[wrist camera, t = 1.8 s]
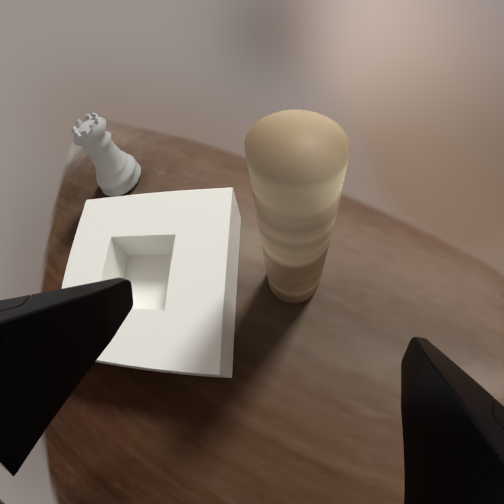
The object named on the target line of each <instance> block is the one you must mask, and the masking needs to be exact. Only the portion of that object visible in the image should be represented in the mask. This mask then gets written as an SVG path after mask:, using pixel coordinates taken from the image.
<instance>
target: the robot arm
mask: <svg viewBox="0 0 504 504" xmlns="http://www.w3.org/2000/svg"><path fill="white" fill-rule="evenodd" d="M132 307H133V294H132V284H131V282H130V280H128V279H124V278H114V279H109V280H104V281H99V282H94V283H89V284H84V285H78V286H73V287H68V288H63V289H58V290H53V291H48V292H43V293H38V294H33V295H31V296H30V295H27V296H22V297H17V298H11V299H5V300H0V464H1V465H2V466H3V467H4V468H5V469H6V470H7V471H8V472H9V473H10V474H11V475H12V476H14V475H15V474H16V473H17V472H18V470H19V468H20V467H21V465H22V464H23V462H24V461H25V459H26V458H27V456H28V455H29V453H30V452H31V450H32V449H33V447H34V446H35V444H36V443H37V441H38V440H39V438H40V437H41V436H42V434H43V433H44V431H45V429H46V428H47V427H48V425H49V424H50V422H51V421H52V420H53V418H54V417H55V415H56V414H57V413H58V411H59V410H60V408H61V407H62V406H63V404H64V403H65V401H66V400H67V399H68V397H69V396H70V395H71V393H72V392H73V391H74V389H75V388H76V386H77V385H78V384H79V382H80V381H81V380H82V378H83V377H84V376H85V374H86V373H87V372H88V370H89V369H90V368H91V367H92V365H93V364H94V363H95V361H96V360H97V359H98V357H99V356H100V355H101V354H102V352H103V351H104V350H105V348H106V347H107V346H108V345H109V343H110V342H111V340H112V339H113V337H114V336H115V334H116V333H117V331H118V330H119V328H120V326H121V325H122V323H123V322H124V320H125V319H126V317H127V315H128V314H129V312H130V311H131V309H132ZM401 414H402V426H403V442H404V470H405V499H404V504H504V406H503V405H502V404H501V403H500V402H498V401H497V400H496V399H494V397H493V396H492V395H491V394H489V393H488V392H487V391H486V390H485V389H484V388H483V387H482V386H480V385H479V384H478V383H477V382H476V381H475V380H474V379H472V378H471V377H470V376H469V375H468V374H467V373H466V372H464V371H463V370H462V369H461V368H460V367H459V366H457V365H456V364H455V363H454V362H453V361H452V360H450V359H449V358H448V357H447V356H446V355H445V354H443V353H442V352H441V351H440V350H439V349H437V348H436V347H435V346H434V345H433V344H432V343H430V342H429V341H428V340H427V339H425V338H420V337H413V338H412V339H411V340H410V343H409V345H408V347H407V350H406V352H405V354H404V357H403V359H402V364H401ZM0 504H4V503H3V502H2V501H1V500H0Z"/></svg>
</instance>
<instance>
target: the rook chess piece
mask: <svg viewBox="0 0 504 504" xmlns="http://www.w3.org/2000/svg"><path fill="white" fill-rule="evenodd" d="M84 118H85V121H83V122H81V120H80V119H79V120H78V121H77V122H76V125H77V126H78V127H77V128H76V127H75V126H74V127H73V128H72V132H73V134H74V139H73V141H74V143H75V144H76V145H79V146H83V147H84V153H85V154H87V155H89V156H90V158H91V159H92V161H93V163H94V165H95V167H96V175H97V183H98V185H99V187H100V188H101V189H102V191H103V193H104V194H105V195H107V196H121V195H124V194H126V193H127V192H129V191H130V190H132V189H133V187H134V186H135V185H136V184H137V182H138V179H139V177H140V174H141V170H140V166H139V164H138V163H137V162H136V160H135V159H134V157H132V156H131V155H129V154H126V153H125V152H123V151H121V150H119V149H118V147H117V146H116V145H115V144H114V143H113V142H112V140H111V134H110V132H107V131H106V130H105V128H106V120H105V119H104V118H101V117H98V115H97V114H96V113H92V117H91V116H90V114H87V115H84Z"/></svg>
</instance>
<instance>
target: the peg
mask: <svg viewBox="0 0 504 504" xmlns="http://www.w3.org/2000/svg"><path fill="white" fill-rule="evenodd" d="M245 152H246V158H247V163H248V169H249V174H250V180H251V186H252V191H253V197H254V202H255V208H256V214H257V219H258V225H259V231H260V236H261V242H262V248H263V253H264V259H265V265H266V271H267V277H268V282H269V286H270V289H271V291H272V292H273V294H274V295H275V296H276V297H277V298H279V299H280V300H282V301H284V302H288V303H300V302H303V301H305V300H307V299H309V298H310V297H311V296H313V294H314V293H315V292H316V290H317V288H318V285H319V282H320V278H321V274H322V270H323V267H324V263H325V259H326V255H327V251H328V247H329V243H330V239H331V235H332V231H333V227H334V222H335V218H336V214H337V210H338V205H339V201H340V196H341V192H342V187H343V182H344V177H345V173H346V168H347V163H348V158H349V152H350V144H349V140H348V137H347V136H346V134H345V132H344V131H343V129H342V128H341V127H340V126H339V125H338V124H336V122H334V121H333V120H331V119H330V118H328V117H326V116H324V115H321V114H319V113H315V112H311V111H305V110H286V111H280V112H276V113H273V114H270V115H268V116H266V117H264V118H262V119H260V120H259V121H258V122H256V124H254V125H253V126H252V128H251V129H250V130H249V132H248V133H247V136H246V138H245Z"/></svg>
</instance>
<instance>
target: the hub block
mask: <svg viewBox="0 0 504 504" xmlns="http://www.w3.org/2000/svg"><path fill="white" fill-rule="evenodd" d="M240 224H241V217H240V213H239V210H238V206H237V202H236V198H235V194H234V191H233V188H215V189H198V190H184V191H170V192H158V193H147V194H136V195H126V196H116V197H107V198H99V199H90V200H86V203H85V206H84V209H83V212H82V215H81V218H80V221H79V225H78V228H77V231H76V235H75V238H74V241H73V245H72V248H71V252H70V256H69V260H68V263H67V267H66V271H65V276H64V280H63V284H62V289H63V288H68V287H73V286H78V285H84V284H89V283H94V282H99V281H104V280H109V279H114V278H124V279H128V280H130V282H131V284H132V294H133V307H132V309H131V311H130V312H129V314H128V315H127V317H126V319H125V320H124V322H123V323H122V325H121V326H120V328H119V330H118V331H117V333H116V334H115V336H114V337H113V339H112V340H111V342H110V343H109V345H108V346H107V347H106V348H105V350H104V351H103V352H102V354H101V355H100V356H99V357H98V359H97V360H96V361H95V362H98V363H103V364H109V365H115V366H121V367H127V368H134V369H141V370H149V371H156V372H165V373H174V374H184V375H195V376H207V377H222V378H232V370H233V349H234V329H235V310H236V292H237V274H238V257H239V240H240Z"/></svg>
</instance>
